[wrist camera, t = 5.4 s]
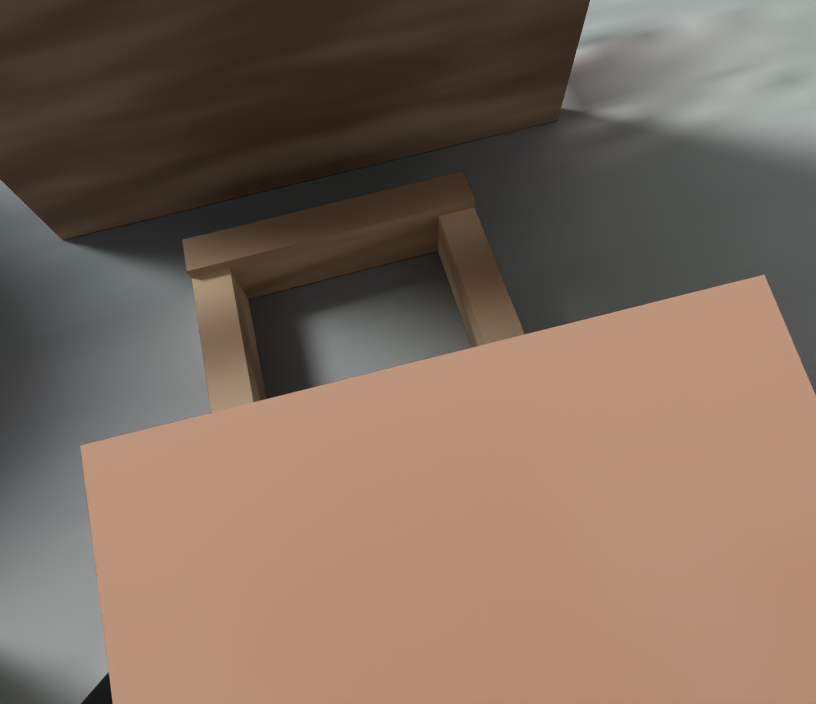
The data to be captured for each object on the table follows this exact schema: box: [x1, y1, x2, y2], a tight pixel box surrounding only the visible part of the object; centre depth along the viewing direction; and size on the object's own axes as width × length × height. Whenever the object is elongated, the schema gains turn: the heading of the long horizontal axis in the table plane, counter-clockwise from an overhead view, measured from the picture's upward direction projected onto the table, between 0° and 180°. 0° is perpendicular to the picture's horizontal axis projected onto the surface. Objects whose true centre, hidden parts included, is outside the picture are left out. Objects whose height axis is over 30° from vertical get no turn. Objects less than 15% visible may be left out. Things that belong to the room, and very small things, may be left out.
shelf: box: [0, 0, 590, 413], centre depth 15 cm, size 14×24×22 cm, turn 105°
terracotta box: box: [80, 275, 816, 704], centre depth 10 cm, size 6×6×12 cm
